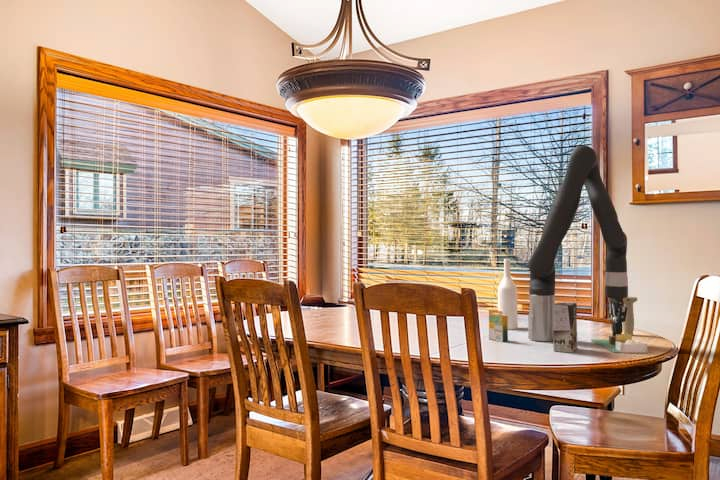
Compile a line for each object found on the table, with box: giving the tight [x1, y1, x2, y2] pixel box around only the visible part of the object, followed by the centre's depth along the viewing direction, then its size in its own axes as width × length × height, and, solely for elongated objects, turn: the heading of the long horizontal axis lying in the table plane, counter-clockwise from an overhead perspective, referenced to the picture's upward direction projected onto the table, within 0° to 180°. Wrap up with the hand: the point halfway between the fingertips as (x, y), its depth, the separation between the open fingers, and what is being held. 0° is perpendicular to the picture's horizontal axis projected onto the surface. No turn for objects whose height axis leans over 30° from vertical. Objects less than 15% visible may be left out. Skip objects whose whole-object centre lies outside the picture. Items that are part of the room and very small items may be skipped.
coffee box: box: [553, 302, 578, 354], centre depth 188 cm, size 9×6×16 cm
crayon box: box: [488, 309, 509, 343], centre depth 207 cm, size 7×3×12 cm, turn 31°
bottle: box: [497, 258, 519, 331], centre depth 234 cm, size 8×8×30 cm
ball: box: [625, 339, 637, 344], centre depth 184 cm, size 4×4×4 cm
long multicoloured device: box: [611, 316, 633, 344], centre depth 194 cm, size 8×5×9 cm, turn 176°
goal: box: [616, 341, 648, 354], centre depth 184 cm, size 9×4×3 cm, turn 86°
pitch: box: [591, 339, 647, 354], centre depth 193 cm, size 11×22×1 cm, turn 176°
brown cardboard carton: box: [608, 335, 615, 345], centre depth 195 cm, size 6×2×3 cm, turn 86°
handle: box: [622, 296, 638, 336], centre depth 215 cm, size 5×6×15 cm
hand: (617, 331), depth 196 cm, fingers closed on long multicoloured device, 3 cm apart
